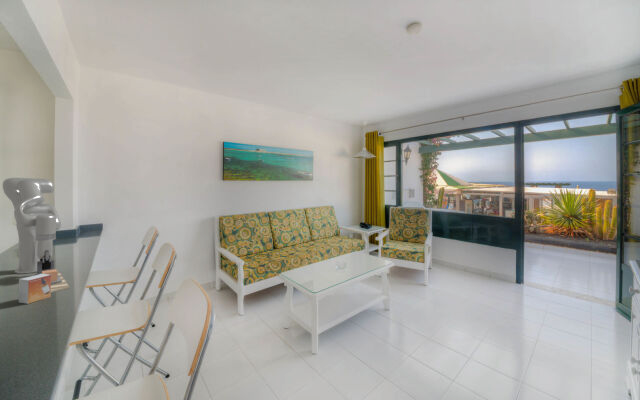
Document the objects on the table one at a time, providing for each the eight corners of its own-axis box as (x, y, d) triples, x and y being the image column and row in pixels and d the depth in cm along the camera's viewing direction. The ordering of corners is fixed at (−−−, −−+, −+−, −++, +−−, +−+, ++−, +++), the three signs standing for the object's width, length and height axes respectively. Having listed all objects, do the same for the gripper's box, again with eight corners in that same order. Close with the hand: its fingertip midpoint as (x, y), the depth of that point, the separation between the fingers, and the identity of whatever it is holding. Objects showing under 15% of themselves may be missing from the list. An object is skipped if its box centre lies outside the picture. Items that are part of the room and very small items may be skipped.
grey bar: (34, 275, 134) (34, 261, 134) (55, 272, 140) (55, 259, 140) (38, 286, 121) (38, 271, 120) (61, 282, 127) (62, 267, 127)
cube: (41, 280, 126) (41, 271, 126) (55, 278, 130) (55, 269, 130) (42, 283, 123) (42, 273, 123) (57, 280, 127) (57, 271, 127)
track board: (29, 278, 134) (29, 276, 134) (59, 273, 142) (59, 271, 142) (35, 295, 114) (35, 293, 114) (69, 288, 123) (69, 286, 123)
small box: (27, 304, 105) (27, 280, 105) (18, 302, 106) (18, 278, 106) (51, 296, 113) (51, 274, 113) (42, 295, 114) (42, 273, 114)
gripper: (34, 235, 138) (33, 265, 138) (37, 240, 127) (36, 272, 128) (53, 233, 144) (53, 262, 144) (58, 238, 133) (57, 269, 134)
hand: (45, 267), depth 136 cm, fingers open, 9 cm apart
